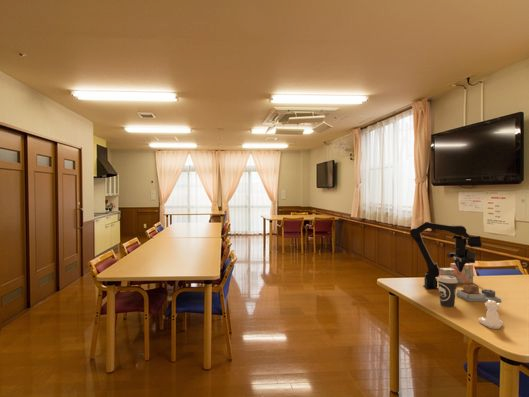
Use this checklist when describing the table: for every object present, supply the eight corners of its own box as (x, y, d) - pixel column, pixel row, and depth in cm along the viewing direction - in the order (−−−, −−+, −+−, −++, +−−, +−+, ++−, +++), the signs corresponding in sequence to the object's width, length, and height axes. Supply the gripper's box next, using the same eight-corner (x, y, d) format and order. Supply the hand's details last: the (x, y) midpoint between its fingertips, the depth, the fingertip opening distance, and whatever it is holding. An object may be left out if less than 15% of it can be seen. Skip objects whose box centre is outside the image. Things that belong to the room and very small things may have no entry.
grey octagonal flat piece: (486, 296, 179) (486, 292, 179) (479, 293, 185) (479, 289, 185) (497, 296, 179) (497, 292, 179) (489, 293, 185) (489, 289, 185)
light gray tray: (468, 301, 176) (468, 292, 176) (456, 295, 187) (456, 286, 187) (500, 301, 176) (500, 292, 176) (486, 295, 187) (486, 286, 187)
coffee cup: (457, 309, 164) (457, 280, 164) (436, 305, 169) (436, 277, 169) (457, 304, 172) (458, 276, 172) (437, 300, 177) (437, 273, 177)
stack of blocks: (445, 284, 211) (445, 265, 211) (438, 281, 217) (438, 263, 217) (473, 282, 215) (473, 264, 215) (465, 280, 221) (466, 262, 221)
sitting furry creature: (502, 324, 145) (502, 298, 145) (508, 332, 137) (508, 304, 137) (477, 321, 148) (478, 295, 148) (482, 328, 140) (482, 301, 140)
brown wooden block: (468, 296, 179) (468, 287, 179) (463, 294, 184) (463, 284, 184) (478, 296, 179) (479, 287, 179) (473, 294, 184) (473, 284, 184)
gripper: (484, 248, 185) (484, 275, 185) (464, 244, 204) (463, 268, 204) (465, 248, 185) (465, 275, 185) (446, 243, 204) (446, 268, 204)
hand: (460, 271), depth 195 cm, fingers closed
